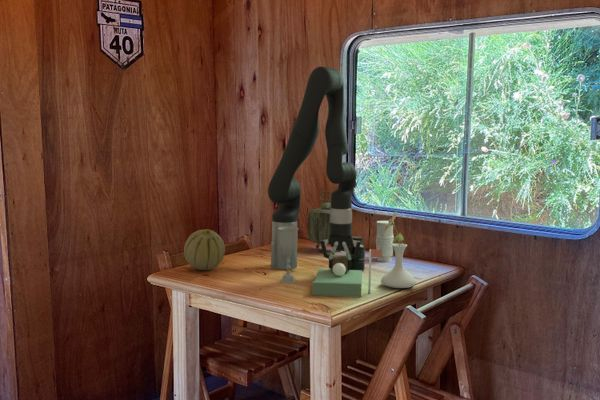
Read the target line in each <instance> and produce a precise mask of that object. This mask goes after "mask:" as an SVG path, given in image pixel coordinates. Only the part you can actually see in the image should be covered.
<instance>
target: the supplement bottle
mask: <svg viewBox="0 0 600 400" xmlns="http://www.w3.org/2000/svg"><path fill="white" fill-rule="evenodd" d="M352 238H353V240H356V241H360V247H359V251H358V255H357V258H356V259H352V260H351V269H349V270H362V272H363V271H364V270H365V265H366V247H365V245H364V244H363V243H364V241H363V240H364V239H363V238H364V237H363V236H357V235H352ZM349 250H350V253H351V255H353V254H354V251H355V247H354V244H353V243H352V244H351V245H350V247H349Z"/></svg>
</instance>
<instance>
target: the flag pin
mask: <svg viewBox="0 0 600 400" xmlns="http://www.w3.org/2000/svg"><path fill="white" fill-rule="evenodd" d="M378 257H382V250H378V249H373V248H370V249H369V250H368V287H367V291H368V294H371V280H372V279H371V277H372V276H371V274H372V273H371V272H372V258H378Z"/></svg>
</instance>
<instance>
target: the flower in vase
mask: <svg viewBox="0 0 600 400" xmlns="http://www.w3.org/2000/svg"><path fill="white" fill-rule="evenodd" d="M397 214H398V212H393V214H392V217H391V218H389V219H388V221H389V223H388V224H387V225H386V226H385V229H384V230H383V231H384V233H385V232H386V231H387V230H388V229H389V227H390V226H391V225H393V229H394V231H395V232H396V236H395V237H394V240H393V243H394V244H392V246H393V251H394V257H395V262H394V263H395V264H394V267H393V268H392V269H391V270H389V271H388V272H387V273H385V274H384V275H383V276H382V277H381V279H380V282H381V284H382V285H384V286H386V287H389V288H392V289H393V288H395V289H407V288H411V287H414V286H415V285H416V284H417V281H416V279H415V277H414V276H413V275H412V274H411V273H409V271H407V270H406V269H405V268H404V264H403V257H404V251H406V248H407V247H408V244H406V243H400V242H402V241H404V236H403V235H402V232H399V233H398V230H397V227H396V225H395V222H394V220H395V219H396V217H397ZM396 242H397V243H396Z"/></svg>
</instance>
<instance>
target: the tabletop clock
mask: <svg viewBox="0 0 600 400" xmlns="http://www.w3.org/2000/svg"><path fill="white" fill-rule="evenodd" d="M322 194H329V195H331V194H332V192H330V191H325V190H324V191H322V192H320V193H319V195H318V197H319V199H320V200H321V201H322V203H320V207H318V208H314V209H312V210H309V213H308V216H307V225H306V226H307V238H308V240H309V241H310V242H312V243H314V244H315V243H316V245H315V247H316V249H320V247H321V246H320V245H321V240H327V239H329V237H330V211H331V199H328V198H327V197H326V198H322V197H321V196H322ZM327 245H330V243H329V242H328V243H327ZM320 250H321V252H322V253H323V251H322V248H321V249H320ZM339 252H342V251H341V250H340V251H339Z"/></svg>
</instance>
